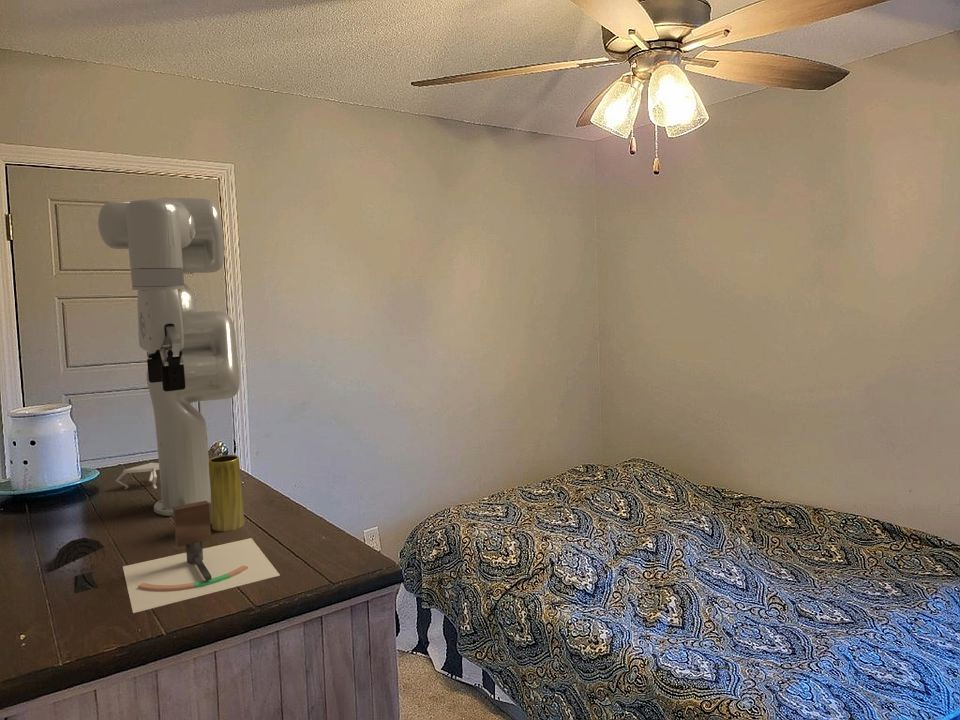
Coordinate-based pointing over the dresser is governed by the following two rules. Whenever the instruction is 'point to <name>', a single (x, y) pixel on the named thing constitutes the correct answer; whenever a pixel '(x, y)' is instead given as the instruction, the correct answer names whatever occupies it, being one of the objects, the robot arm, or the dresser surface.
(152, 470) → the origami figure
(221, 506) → the vase
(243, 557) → the board
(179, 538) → the tuner needle gauge
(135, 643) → the dresser surface
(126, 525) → the dresser surface
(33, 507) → the dresser surface
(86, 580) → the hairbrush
